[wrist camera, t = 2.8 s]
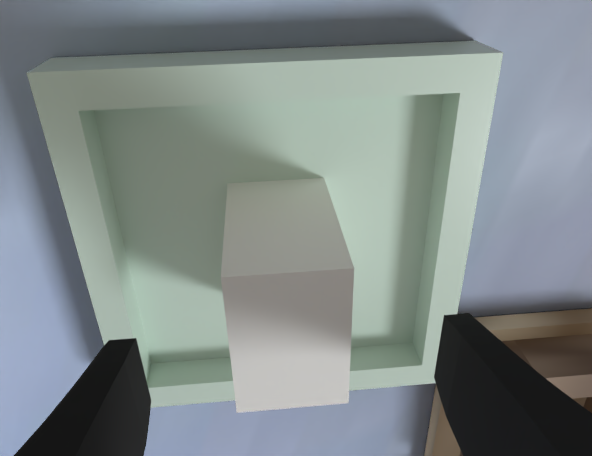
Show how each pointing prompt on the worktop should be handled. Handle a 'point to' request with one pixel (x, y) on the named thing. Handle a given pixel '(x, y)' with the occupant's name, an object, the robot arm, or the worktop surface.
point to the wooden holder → (533, 361)
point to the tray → (269, 167)
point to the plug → (286, 295)
